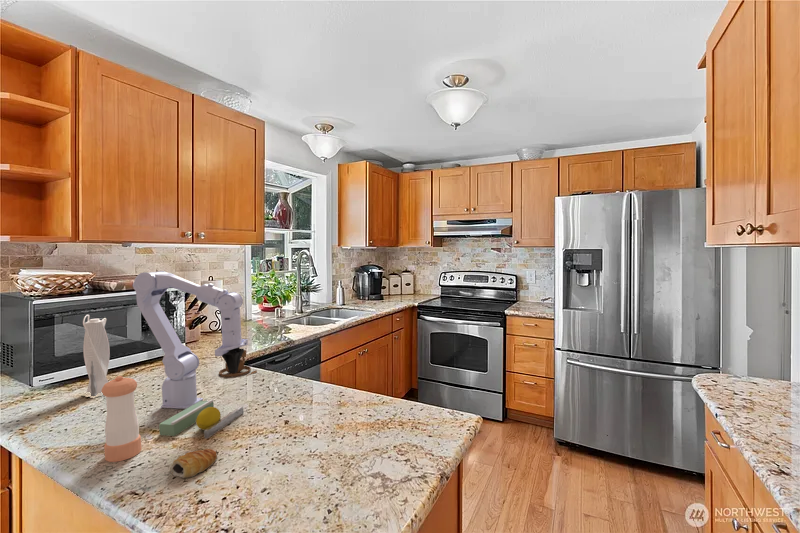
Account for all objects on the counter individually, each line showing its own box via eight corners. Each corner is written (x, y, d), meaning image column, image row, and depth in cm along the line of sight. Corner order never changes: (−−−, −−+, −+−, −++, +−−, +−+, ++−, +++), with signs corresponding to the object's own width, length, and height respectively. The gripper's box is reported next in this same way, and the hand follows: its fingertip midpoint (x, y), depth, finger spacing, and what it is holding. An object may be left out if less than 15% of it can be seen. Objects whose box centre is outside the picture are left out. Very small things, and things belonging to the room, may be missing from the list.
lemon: (220, 424, 112) (205, 438, 104) (203, 415, 112) (187, 429, 104) (228, 407, 112) (214, 420, 104) (211, 399, 112) (195, 411, 104)
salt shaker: (148, 448, 97) (144, 373, 97) (119, 464, 91) (114, 382, 90) (127, 444, 100) (123, 370, 99) (97, 459, 93) (92, 380, 92)
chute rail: (204, 438, 102) (204, 430, 102) (240, 412, 118) (240, 406, 118) (207, 438, 102) (207, 430, 102) (243, 412, 118) (243, 406, 118)
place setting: (206, 376, 156) (205, 362, 155) (242, 362, 174) (241, 349, 174) (241, 380, 150) (240, 365, 149) (275, 365, 168) (274, 352, 168)
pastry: (205, 454, 94) (204, 439, 94) (224, 460, 91) (224, 444, 91) (167, 475, 86) (166, 458, 86) (187, 482, 83) (186, 465, 83)
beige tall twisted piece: (78, 396, 136) (72, 316, 135) (103, 388, 144) (98, 312, 143) (93, 398, 133) (88, 317, 132) (118, 390, 141) (113, 313, 139)
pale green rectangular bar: (159, 434, 105) (159, 421, 105) (200, 410, 121) (200, 399, 120) (174, 435, 104) (173, 422, 104) (213, 411, 120) (213, 399, 120)
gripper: (228, 335, 117) (230, 380, 118) (255, 326, 131) (257, 366, 132) (207, 335, 119) (210, 379, 119) (236, 325, 133) (238, 365, 133)
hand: (233, 372), depth 126 cm, fingers closed
